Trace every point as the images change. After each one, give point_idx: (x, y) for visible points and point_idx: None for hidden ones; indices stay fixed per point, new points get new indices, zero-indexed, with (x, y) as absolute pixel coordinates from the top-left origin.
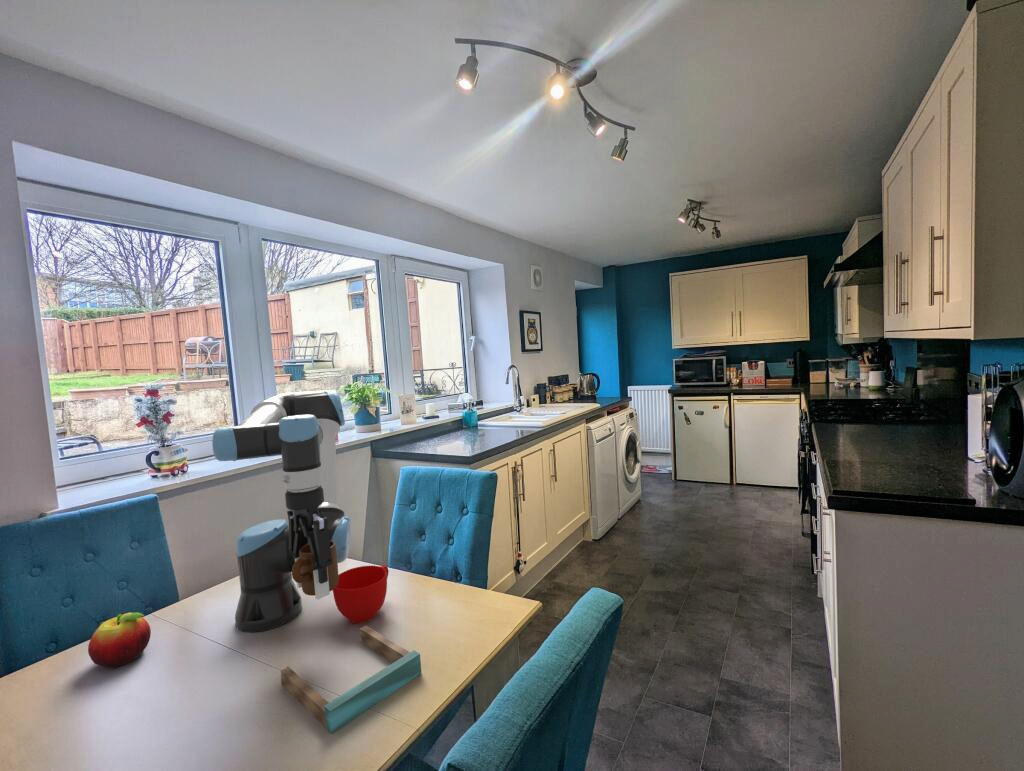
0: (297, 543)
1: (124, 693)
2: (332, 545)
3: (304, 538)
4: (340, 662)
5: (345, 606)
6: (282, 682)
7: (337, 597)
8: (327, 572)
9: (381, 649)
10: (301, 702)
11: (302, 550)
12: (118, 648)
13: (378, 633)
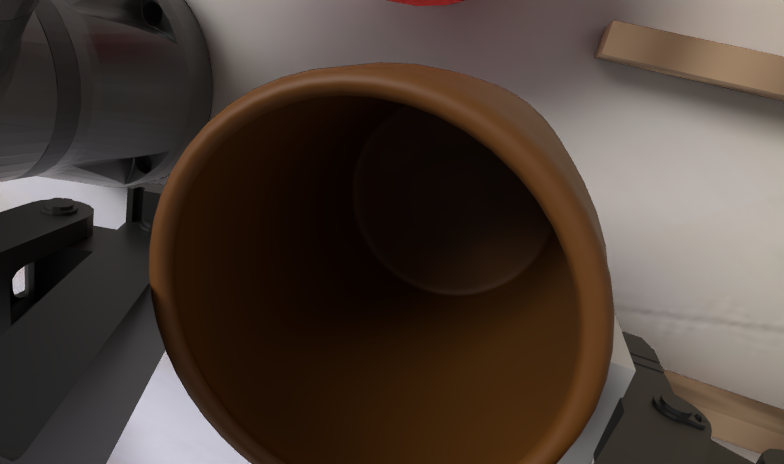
0: (115, 434)
1: (162, 439)
2: (568, 240)
3: (100, 396)
4: (606, 192)
5: (458, 1)
6: None
7: (400, 2)
8: (617, 329)
9: (773, 96)
10: None
11: (214, 360)
12: None
13: (731, 47)
